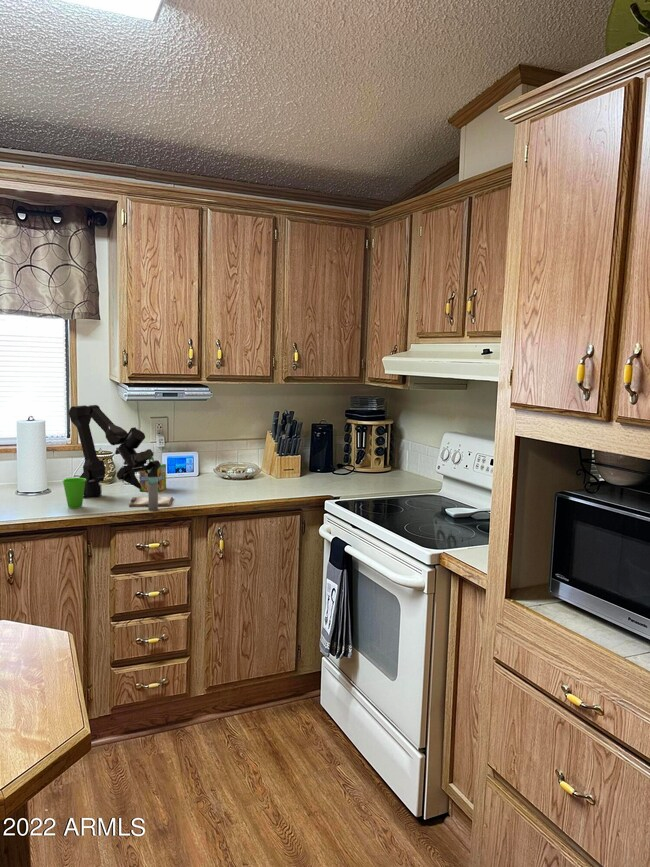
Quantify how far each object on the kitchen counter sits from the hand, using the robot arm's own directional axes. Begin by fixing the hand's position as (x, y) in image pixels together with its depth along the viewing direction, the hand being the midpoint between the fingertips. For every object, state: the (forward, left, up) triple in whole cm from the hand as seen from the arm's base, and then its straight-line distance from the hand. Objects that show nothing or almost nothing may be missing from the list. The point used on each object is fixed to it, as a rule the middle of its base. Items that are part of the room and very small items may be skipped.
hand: (149, 486), depth 260 cm
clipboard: (0, +11, -9) cm, 14 cm away
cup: (-30, +5, -9) cm, 31 cm away
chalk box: (-3, +35, -9) cm, 36 cm away
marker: (+1, -1, -9) cm, 9 cm away
